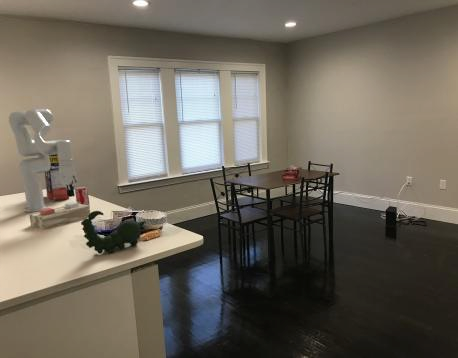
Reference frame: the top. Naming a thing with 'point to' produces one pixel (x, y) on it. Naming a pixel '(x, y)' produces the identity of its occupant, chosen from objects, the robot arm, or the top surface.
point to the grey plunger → (71, 205)
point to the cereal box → (55, 181)
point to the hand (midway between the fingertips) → (71, 196)
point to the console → (59, 216)
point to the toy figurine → (124, 234)
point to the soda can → (82, 195)
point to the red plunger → (47, 211)
